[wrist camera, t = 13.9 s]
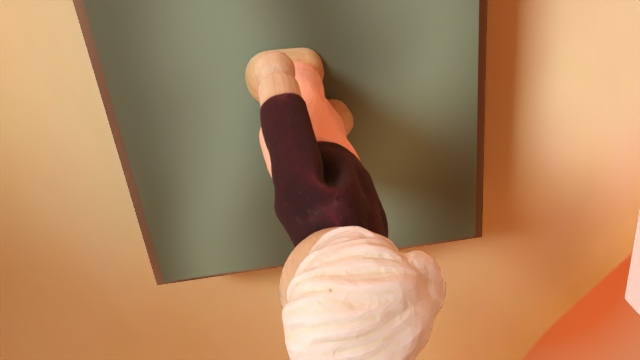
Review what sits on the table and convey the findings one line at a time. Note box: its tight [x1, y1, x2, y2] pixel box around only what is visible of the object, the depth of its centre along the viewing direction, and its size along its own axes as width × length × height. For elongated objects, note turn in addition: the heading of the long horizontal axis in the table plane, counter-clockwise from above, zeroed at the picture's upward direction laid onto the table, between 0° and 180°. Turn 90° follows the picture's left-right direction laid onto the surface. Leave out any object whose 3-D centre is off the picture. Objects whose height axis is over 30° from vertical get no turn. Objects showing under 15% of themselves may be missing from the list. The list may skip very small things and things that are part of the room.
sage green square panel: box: [73, 0, 487, 285], centre depth 23 cm, size 14×14×4 cm
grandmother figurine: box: [245, 48, 446, 360], centre depth 16 cm, size 8×4×13 cm, turn 37°
